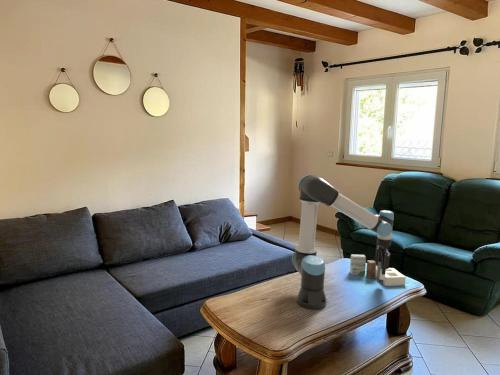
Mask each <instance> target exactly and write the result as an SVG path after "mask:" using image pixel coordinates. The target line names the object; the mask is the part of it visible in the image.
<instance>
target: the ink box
mask: <svg viewBox="0 0 500 375" xmlns="http://www.w3.org/2000/svg"><path fill="white" fill-rule="evenodd" d="M349 267H350V268H349V273H350V275H355V276H357V275H359V276H366V267H367V257H366V255H365V254H350V266H349Z"/></svg>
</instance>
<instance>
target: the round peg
mask: <svg viewBox="0 0 500 375" xmlns="http://www.w3.org/2000/svg"><path fill="white" fill-rule="evenodd" d="M380 268H382V261H379V263H378V273H377V278H376V283H378V284H383V281H384V280H380Z"/></svg>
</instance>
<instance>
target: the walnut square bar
mask: <svg viewBox="0 0 500 375" xmlns="http://www.w3.org/2000/svg"><path fill="white" fill-rule="evenodd" d="M376 268H377V263H375V260H374V259H372V260H371V259H370V260H367V259H366V269H365V276H366V277H367V279H376V277H375V274H376Z"/></svg>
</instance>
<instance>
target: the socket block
mask: <svg viewBox="0 0 500 375" xmlns="http://www.w3.org/2000/svg"><path fill="white" fill-rule="evenodd" d="M376 272H377V267H376ZM375 279H377V276H376V274H375ZM382 284H383V285H384V286H386V287H388V286H389V287H390V286H391V287H393V286H405V285H406V276H405V275H404V274H402V273H401V272H399V271H398V270H397V269H396V268H394V267H389V268H388V269H386V272H385V280H384V281H383V283H382Z"/></svg>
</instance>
